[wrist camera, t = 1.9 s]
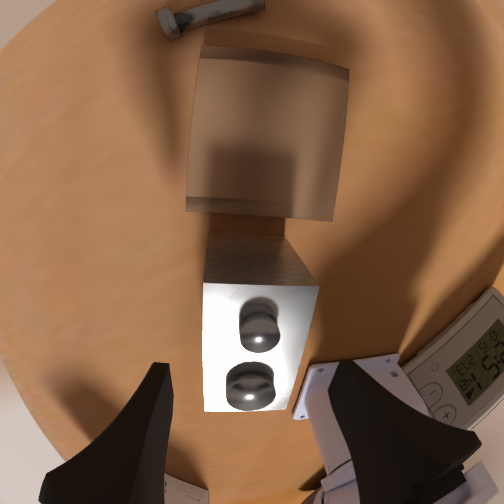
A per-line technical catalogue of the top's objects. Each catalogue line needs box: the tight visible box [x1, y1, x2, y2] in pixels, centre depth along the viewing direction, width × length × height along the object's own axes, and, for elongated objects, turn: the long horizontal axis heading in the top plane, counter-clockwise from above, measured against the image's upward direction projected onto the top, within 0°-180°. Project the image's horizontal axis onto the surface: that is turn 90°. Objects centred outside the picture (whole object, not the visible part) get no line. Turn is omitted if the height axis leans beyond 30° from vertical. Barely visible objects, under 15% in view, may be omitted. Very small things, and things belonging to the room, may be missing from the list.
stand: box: [186, 46, 349, 222], centre depth 13 cm, size 8×9×2 cm
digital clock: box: [401, 287, 504, 430], centre depth 18 cm, size 16×9×11 cm, turn 113°
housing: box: [203, 232, 320, 411], centre depth 14 cm, size 4×8×7 cm, turn 174°
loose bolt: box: [155, 0, 265, 42], centre depth 10 cm, size 6×2×2 cm, turn 109°
